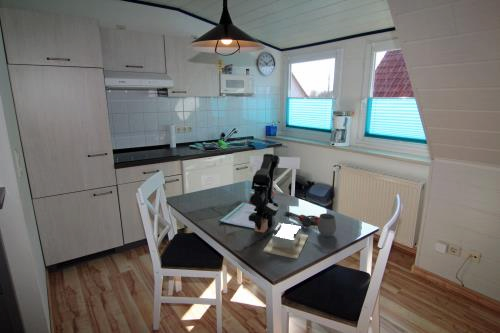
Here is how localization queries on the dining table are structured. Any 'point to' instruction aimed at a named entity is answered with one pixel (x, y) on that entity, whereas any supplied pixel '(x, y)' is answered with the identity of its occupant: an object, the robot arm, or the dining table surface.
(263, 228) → the brown block with knob
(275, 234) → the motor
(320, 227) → the cup
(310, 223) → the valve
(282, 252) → the mounting board
